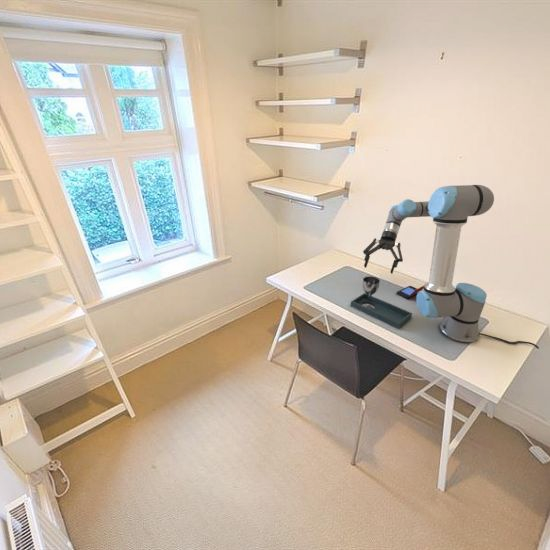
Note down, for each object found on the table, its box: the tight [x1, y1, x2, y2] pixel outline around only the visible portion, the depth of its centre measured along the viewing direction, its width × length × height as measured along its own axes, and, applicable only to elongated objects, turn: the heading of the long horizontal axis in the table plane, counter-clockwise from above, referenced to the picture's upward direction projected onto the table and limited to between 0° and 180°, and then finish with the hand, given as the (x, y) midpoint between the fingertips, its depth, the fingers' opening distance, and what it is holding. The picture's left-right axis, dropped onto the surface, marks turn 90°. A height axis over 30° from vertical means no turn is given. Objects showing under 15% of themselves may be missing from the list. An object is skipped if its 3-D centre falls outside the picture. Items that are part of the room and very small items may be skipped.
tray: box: [350, 292, 413, 329], centre depth 156 cm, size 27×12×3 cm, turn 42°
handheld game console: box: [396, 285, 424, 300], centre depth 169 cm, size 12×11×7 cm
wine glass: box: [361, 275, 381, 309], centre depth 157 cm, size 8×8×15 cm
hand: (377, 269), depth 161 cm, fingers open, 13 cm apart
